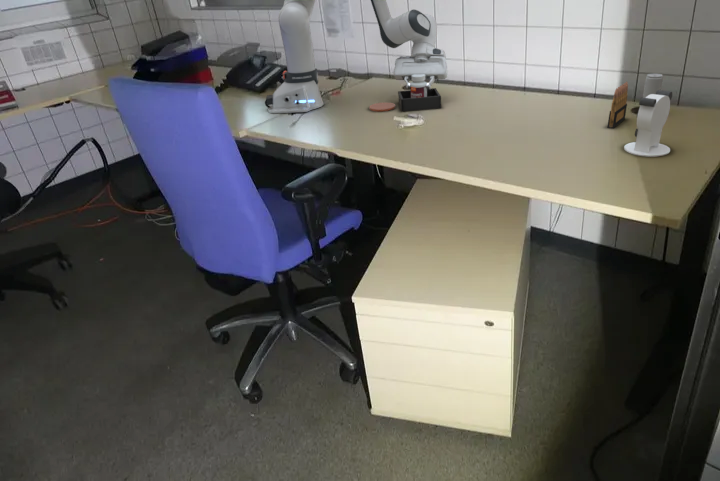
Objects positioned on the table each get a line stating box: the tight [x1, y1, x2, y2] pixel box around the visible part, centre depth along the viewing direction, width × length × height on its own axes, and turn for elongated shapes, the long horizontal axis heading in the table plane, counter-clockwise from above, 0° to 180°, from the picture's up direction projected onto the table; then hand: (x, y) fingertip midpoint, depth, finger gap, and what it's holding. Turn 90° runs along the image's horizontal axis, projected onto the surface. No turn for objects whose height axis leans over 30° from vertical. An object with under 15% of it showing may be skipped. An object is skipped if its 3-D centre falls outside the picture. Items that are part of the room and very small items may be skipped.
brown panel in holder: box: [607, 81, 629, 129], centre depth 169 cm, size 11×2×12 cm, turn 140°
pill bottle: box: [409, 74, 427, 98], centre depth 206 cm, size 6×6×11 cm
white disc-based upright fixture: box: [623, 89, 673, 158], centre depth 147 cm, size 12×11×15 cm
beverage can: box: [642, 73, 664, 98], centre depth 176 cm, size 5×5×12 cm
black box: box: [397, 87, 442, 112], centre depth 207 cm, size 15×13×4 cm
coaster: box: [368, 101, 396, 113], centre depth 209 cm, size 10×10×1 cm
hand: (418, 88), depth 205 cm, fingers closed on pill bottle, 6 cm apart
